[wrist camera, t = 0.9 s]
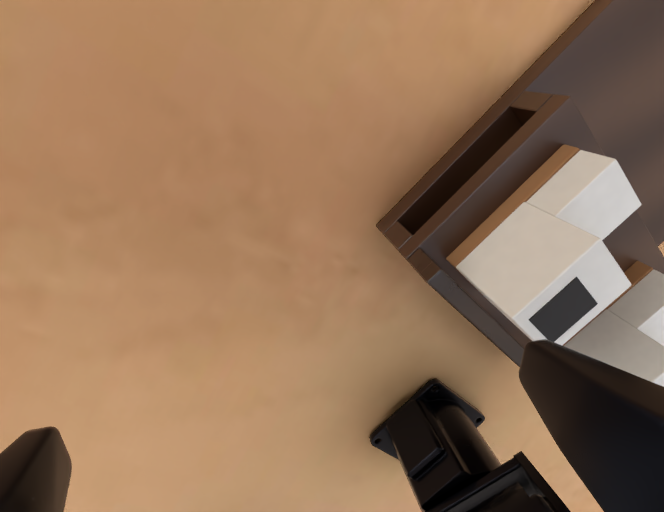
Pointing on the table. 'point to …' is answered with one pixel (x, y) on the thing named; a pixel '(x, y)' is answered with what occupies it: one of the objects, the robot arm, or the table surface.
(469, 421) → the robot arm
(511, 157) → the shoe rack
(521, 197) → the white stacked box shape
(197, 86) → the table surface
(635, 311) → the white l-shaped block
